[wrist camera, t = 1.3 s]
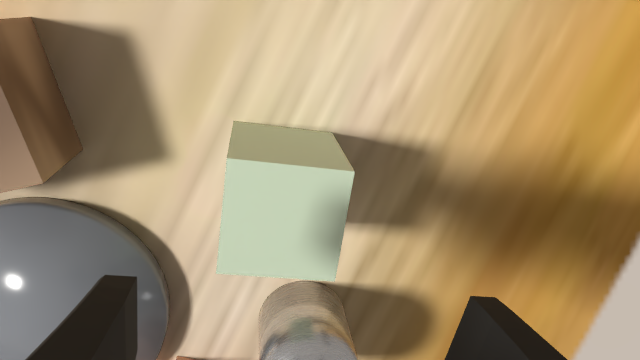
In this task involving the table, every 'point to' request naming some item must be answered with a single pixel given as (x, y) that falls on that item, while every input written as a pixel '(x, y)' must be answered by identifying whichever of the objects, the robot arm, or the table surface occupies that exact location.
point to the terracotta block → (183, 358)
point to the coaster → (69, 272)
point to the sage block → (283, 203)
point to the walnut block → (30, 111)
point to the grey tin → (304, 324)
